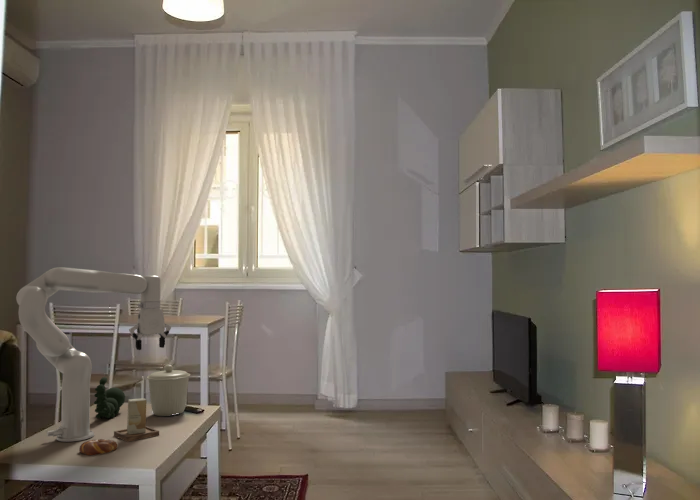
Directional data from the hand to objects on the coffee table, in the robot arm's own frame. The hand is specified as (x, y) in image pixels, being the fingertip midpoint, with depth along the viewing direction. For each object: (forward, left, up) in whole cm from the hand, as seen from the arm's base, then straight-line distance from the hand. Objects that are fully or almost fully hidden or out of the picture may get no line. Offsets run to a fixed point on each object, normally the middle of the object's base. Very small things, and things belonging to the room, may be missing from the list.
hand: (150, 348), depth 234 cm
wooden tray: (-11, -12, -30) cm, 34 cm away
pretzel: (-28, -21, -31) cm, 47 cm away
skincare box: (-11, -12, -30) cm, 34 cm away
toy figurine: (-5, +28, -31) cm, 41 cm away
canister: (+14, +12, -31) cm, 36 cm away
